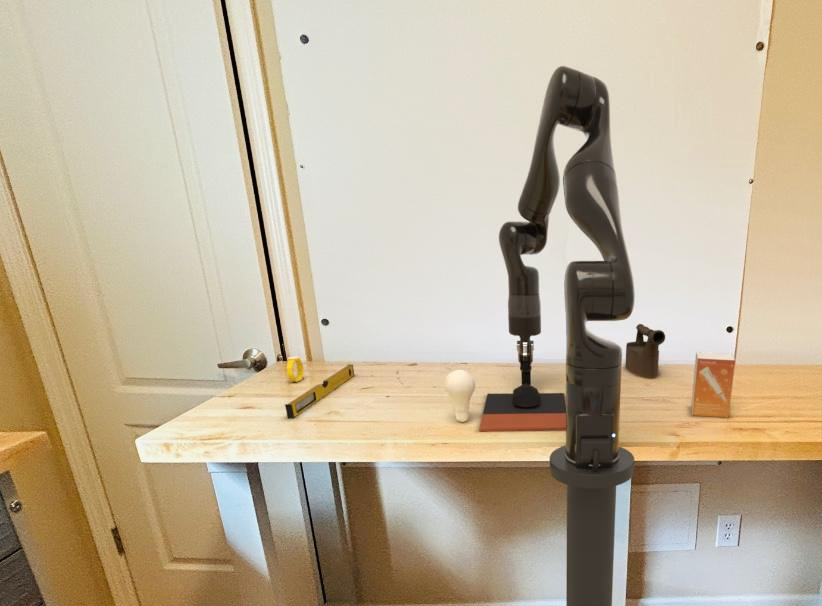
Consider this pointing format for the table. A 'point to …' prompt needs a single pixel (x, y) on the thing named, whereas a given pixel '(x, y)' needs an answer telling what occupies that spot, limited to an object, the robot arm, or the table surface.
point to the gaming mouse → (526, 396)
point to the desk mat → (524, 414)
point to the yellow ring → (290, 368)
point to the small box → (712, 384)
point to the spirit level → (318, 391)
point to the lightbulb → (460, 392)
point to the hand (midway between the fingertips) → (526, 385)
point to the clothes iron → (644, 352)
